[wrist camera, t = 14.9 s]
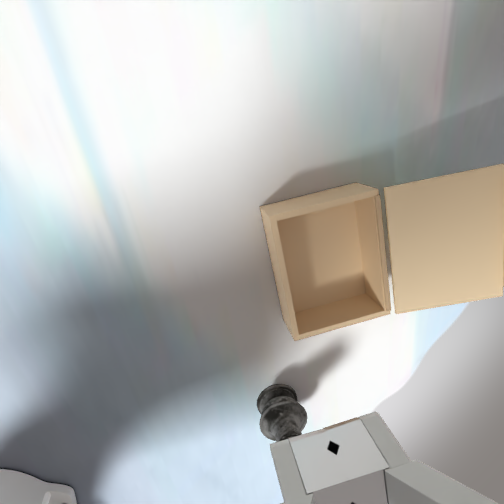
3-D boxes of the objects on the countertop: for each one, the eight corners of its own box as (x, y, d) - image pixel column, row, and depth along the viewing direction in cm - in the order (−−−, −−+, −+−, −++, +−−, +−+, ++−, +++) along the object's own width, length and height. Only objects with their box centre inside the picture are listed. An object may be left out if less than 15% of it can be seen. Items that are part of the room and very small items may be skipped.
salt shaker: (293, 420, 49) (324, 506, 38) (250, 418, 48) (269, 507, 37) (303, 383, 48) (339, 461, 36) (259, 380, 46) (282, 460, 35)
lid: (399, 318, 39) (394, 311, 41) (512, 299, 38) (504, 293, 40) (387, 190, 35) (383, 187, 36) (516, 164, 34) (507, 162, 35)
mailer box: (369, 294, 45) (391, 314, 40) (283, 318, 44) (295, 342, 39) (356, 182, 41) (379, 189, 36) (259, 206, 40) (269, 217, 35)
